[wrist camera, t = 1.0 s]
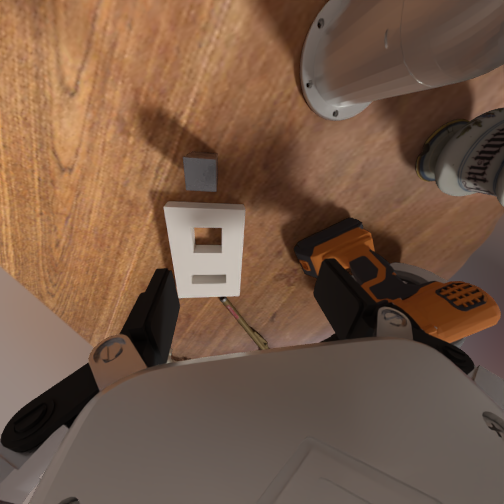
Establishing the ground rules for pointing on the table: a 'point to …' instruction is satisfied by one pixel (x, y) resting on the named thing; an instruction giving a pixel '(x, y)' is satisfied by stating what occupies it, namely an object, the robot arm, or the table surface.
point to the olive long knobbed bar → (245, 325)
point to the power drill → (399, 285)
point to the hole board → (206, 248)
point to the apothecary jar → (466, 156)
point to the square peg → (201, 171)
